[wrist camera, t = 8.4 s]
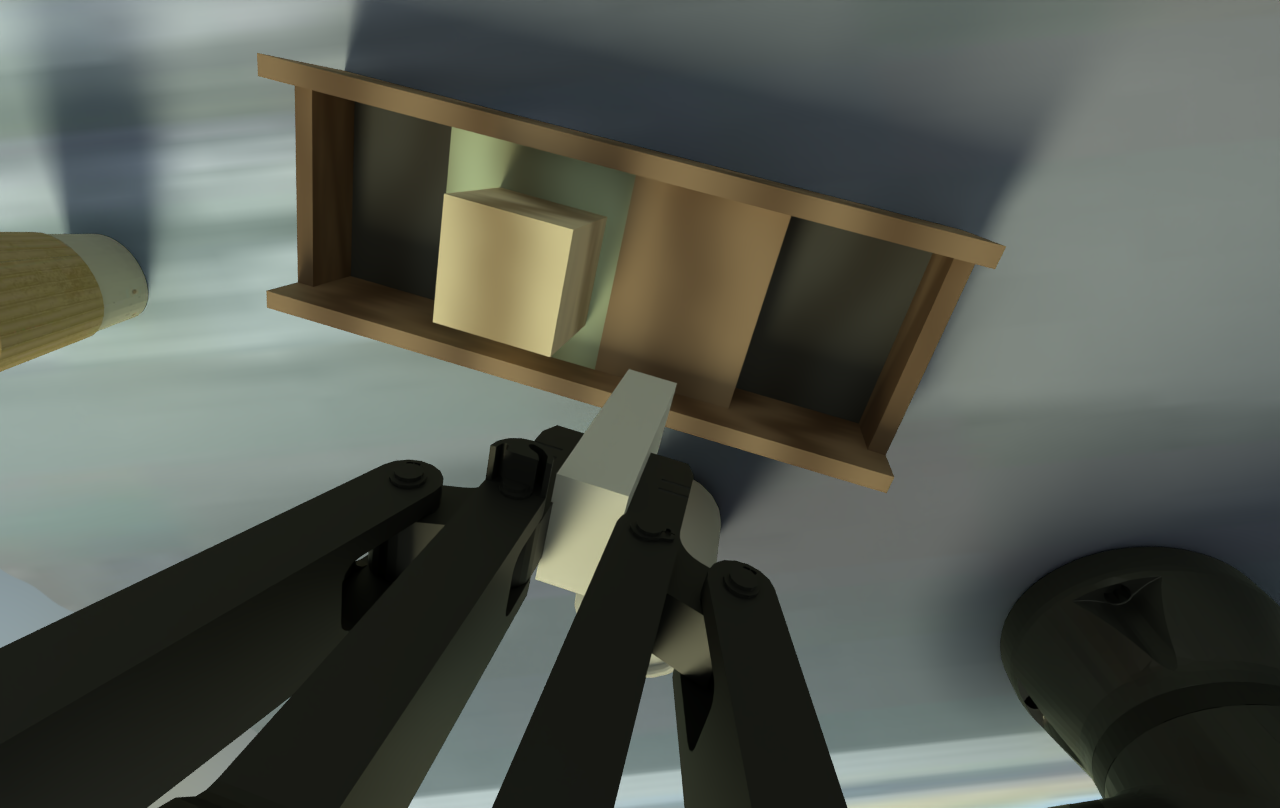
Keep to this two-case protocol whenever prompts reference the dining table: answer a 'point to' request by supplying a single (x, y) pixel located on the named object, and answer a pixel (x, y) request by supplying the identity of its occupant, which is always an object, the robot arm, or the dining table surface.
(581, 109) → the dining table surface
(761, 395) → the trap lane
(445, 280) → the maple block
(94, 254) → the coffee cup
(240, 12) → the dining table surface
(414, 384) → the dining table surface
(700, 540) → the can
